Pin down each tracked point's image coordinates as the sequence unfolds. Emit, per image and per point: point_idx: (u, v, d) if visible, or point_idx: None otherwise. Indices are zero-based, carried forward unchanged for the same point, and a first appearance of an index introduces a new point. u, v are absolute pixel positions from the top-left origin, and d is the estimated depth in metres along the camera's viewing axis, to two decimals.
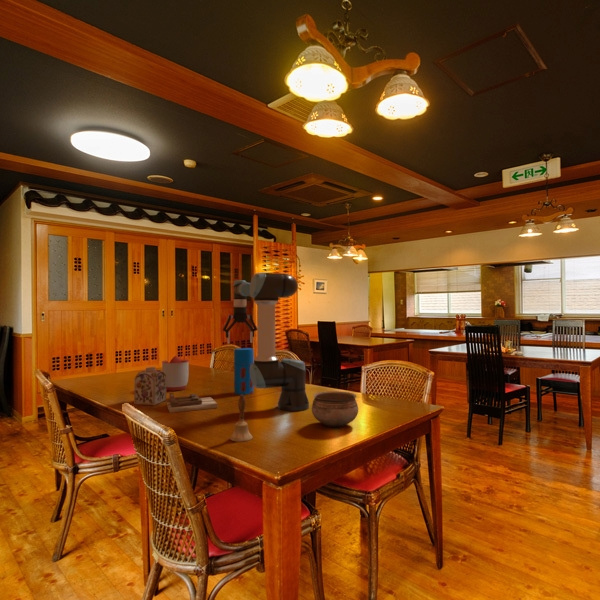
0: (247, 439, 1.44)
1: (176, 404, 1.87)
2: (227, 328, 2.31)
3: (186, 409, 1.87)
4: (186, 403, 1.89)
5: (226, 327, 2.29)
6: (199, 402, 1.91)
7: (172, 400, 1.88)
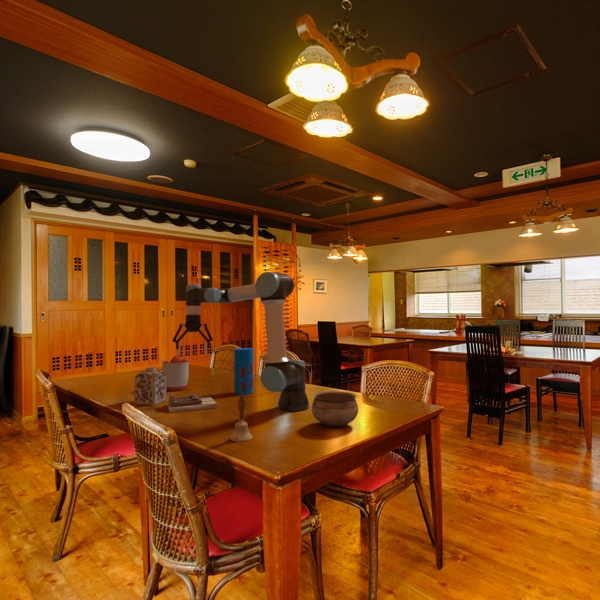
0: (247, 439, 1.44)
1: (176, 404, 1.87)
2: (178, 338, 2.05)
3: (186, 409, 1.87)
4: (186, 403, 1.89)
5: (176, 337, 2.03)
6: (199, 402, 1.91)
7: (172, 400, 1.88)
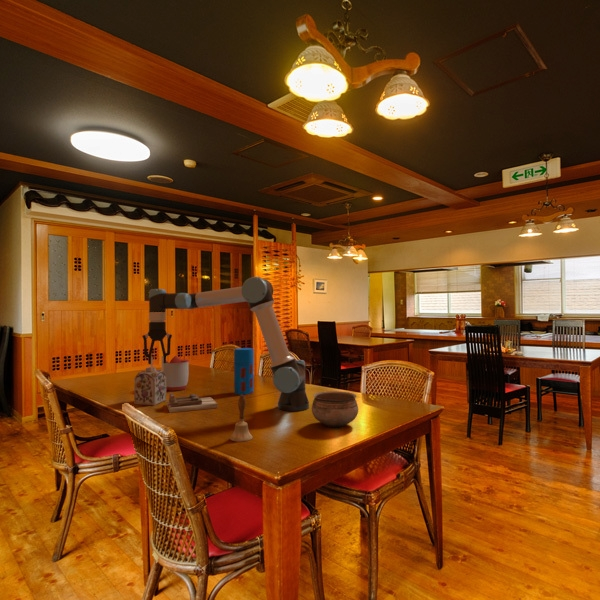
0: (247, 439, 1.44)
1: (176, 404, 1.87)
2: None
3: (186, 409, 1.87)
4: (186, 403, 1.89)
5: (146, 350, 1.87)
6: (199, 402, 1.91)
7: (172, 400, 1.88)
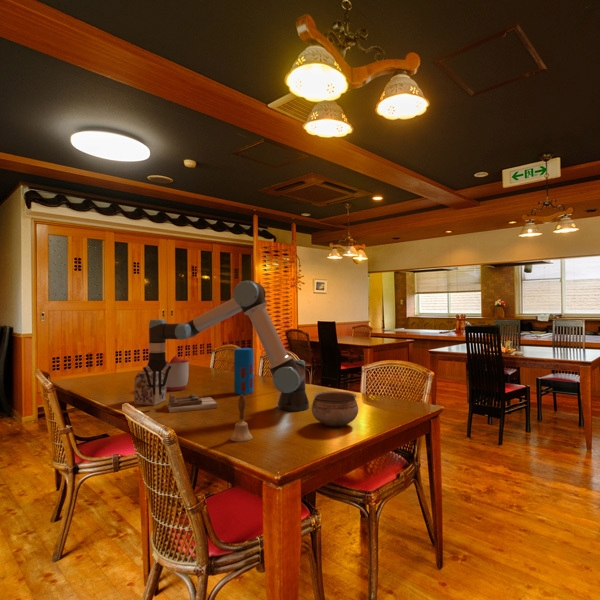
0: (247, 439, 1.44)
1: (176, 404, 1.87)
2: None
3: (186, 409, 1.87)
4: (186, 403, 1.89)
5: (150, 381, 1.87)
6: (199, 402, 1.91)
7: (172, 400, 1.88)
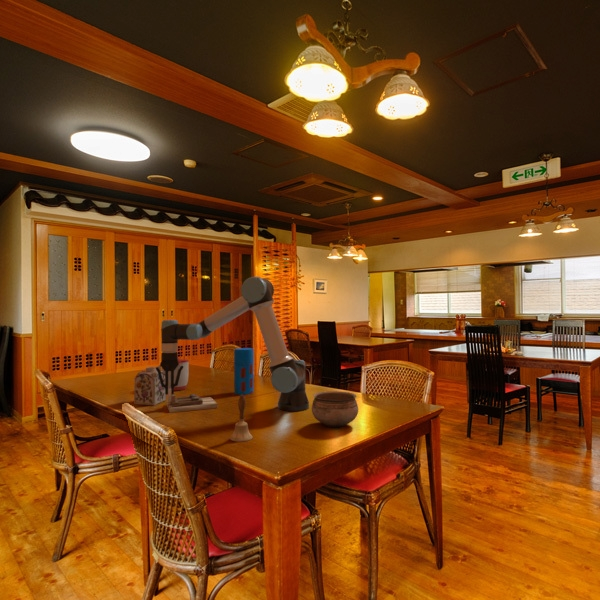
0: (247, 439, 1.44)
1: (177, 404, 1.87)
2: (165, 383, 1.91)
3: (186, 409, 1.87)
4: (187, 403, 1.89)
5: (162, 381, 1.89)
6: (200, 402, 1.91)
7: (173, 400, 1.88)
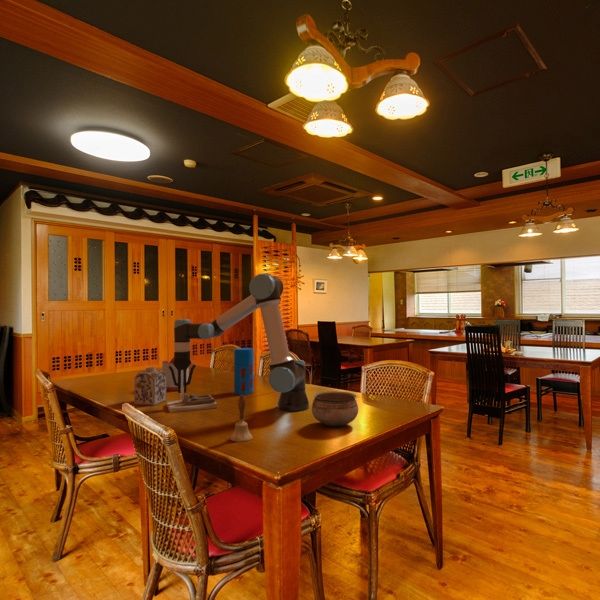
0: (247, 439, 1.44)
1: (190, 403, 1.89)
2: None
3: (186, 409, 1.87)
4: (199, 402, 1.91)
5: (175, 380, 1.91)
6: (212, 401, 1.93)
7: (186, 399, 1.90)
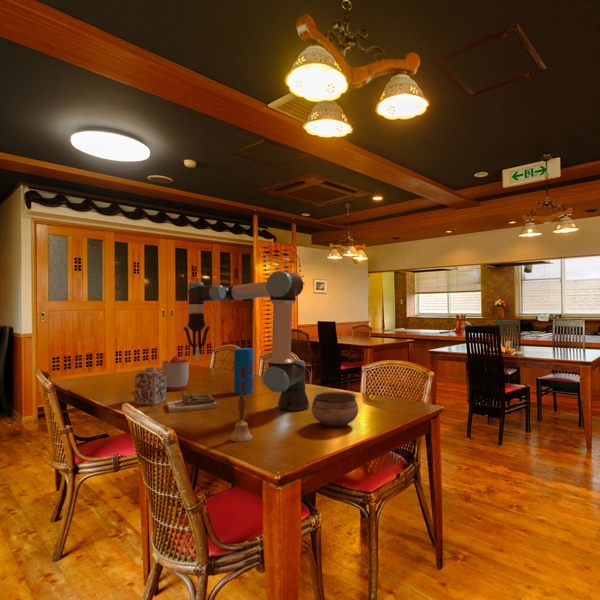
0: (247, 439, 1.44)
1: (190, 403, 1.89)
2: None
3: (186, 409, 1.87)
4: (199, 402, 1.91)
5: (190, 340, 1.98)
6: (212, 401, 1.93)
7: (186, 399, 1.90)
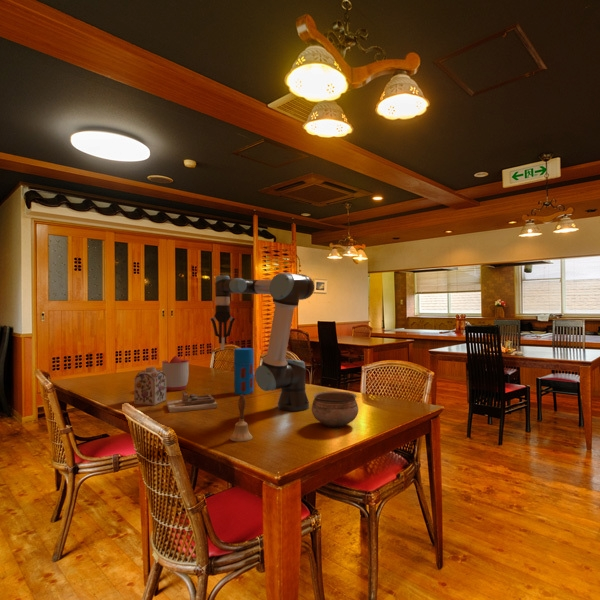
0: (247, 439, 1.44)
1: (190, 403, 1.89)
2: None
3: (186, 409, 1.87)
4: (199, 402, 1.91)
5: (217, 331, 2.08)
6: (212, 401, 1.93)
7: (186, 399, 1.90)
